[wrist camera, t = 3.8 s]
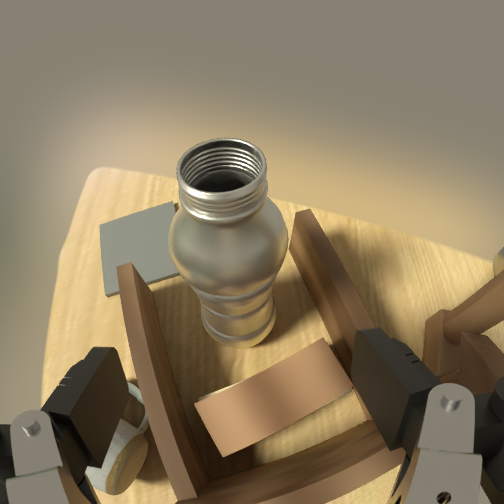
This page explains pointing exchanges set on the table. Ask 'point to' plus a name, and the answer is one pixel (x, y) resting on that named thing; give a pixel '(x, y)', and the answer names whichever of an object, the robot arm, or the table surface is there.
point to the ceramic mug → (122, 455)
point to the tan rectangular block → (273, 398)
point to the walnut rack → (289, 468)
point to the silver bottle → (228, 239)
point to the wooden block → (467, 340)
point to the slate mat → (138, 246)
